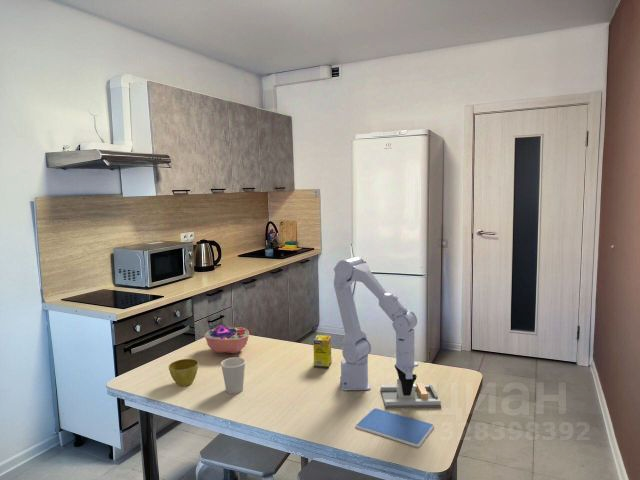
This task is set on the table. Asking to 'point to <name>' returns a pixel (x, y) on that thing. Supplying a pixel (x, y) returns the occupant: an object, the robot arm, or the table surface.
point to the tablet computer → (395, 427)
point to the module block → (400, 392)
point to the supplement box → (322, 351)
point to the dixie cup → (233, 374)
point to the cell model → (227, 339)
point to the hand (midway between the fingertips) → (405, 391)
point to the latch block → (421, 391)
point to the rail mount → (394, 402)
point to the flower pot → (183, 371)
